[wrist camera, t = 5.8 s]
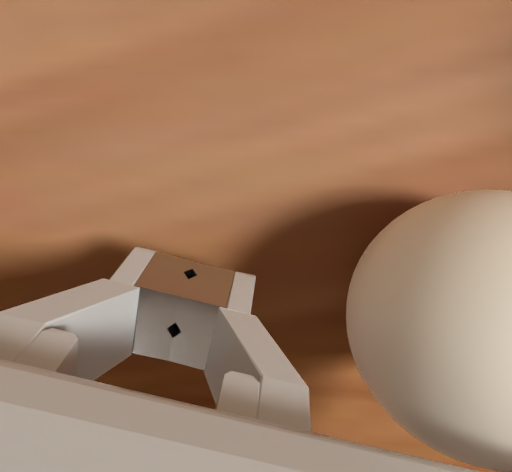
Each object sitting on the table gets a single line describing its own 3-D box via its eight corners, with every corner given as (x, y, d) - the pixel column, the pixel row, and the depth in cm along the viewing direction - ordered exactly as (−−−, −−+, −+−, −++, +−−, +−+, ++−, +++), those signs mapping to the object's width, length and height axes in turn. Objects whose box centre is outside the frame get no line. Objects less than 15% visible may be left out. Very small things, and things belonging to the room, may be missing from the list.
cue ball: (289, 451, 8) (372, 371, 12) (699, 644, 5) (604, 441, 9) (320, 167, 7) (394, 194, 12) (783, 177, 4) (642, 208, 9)
